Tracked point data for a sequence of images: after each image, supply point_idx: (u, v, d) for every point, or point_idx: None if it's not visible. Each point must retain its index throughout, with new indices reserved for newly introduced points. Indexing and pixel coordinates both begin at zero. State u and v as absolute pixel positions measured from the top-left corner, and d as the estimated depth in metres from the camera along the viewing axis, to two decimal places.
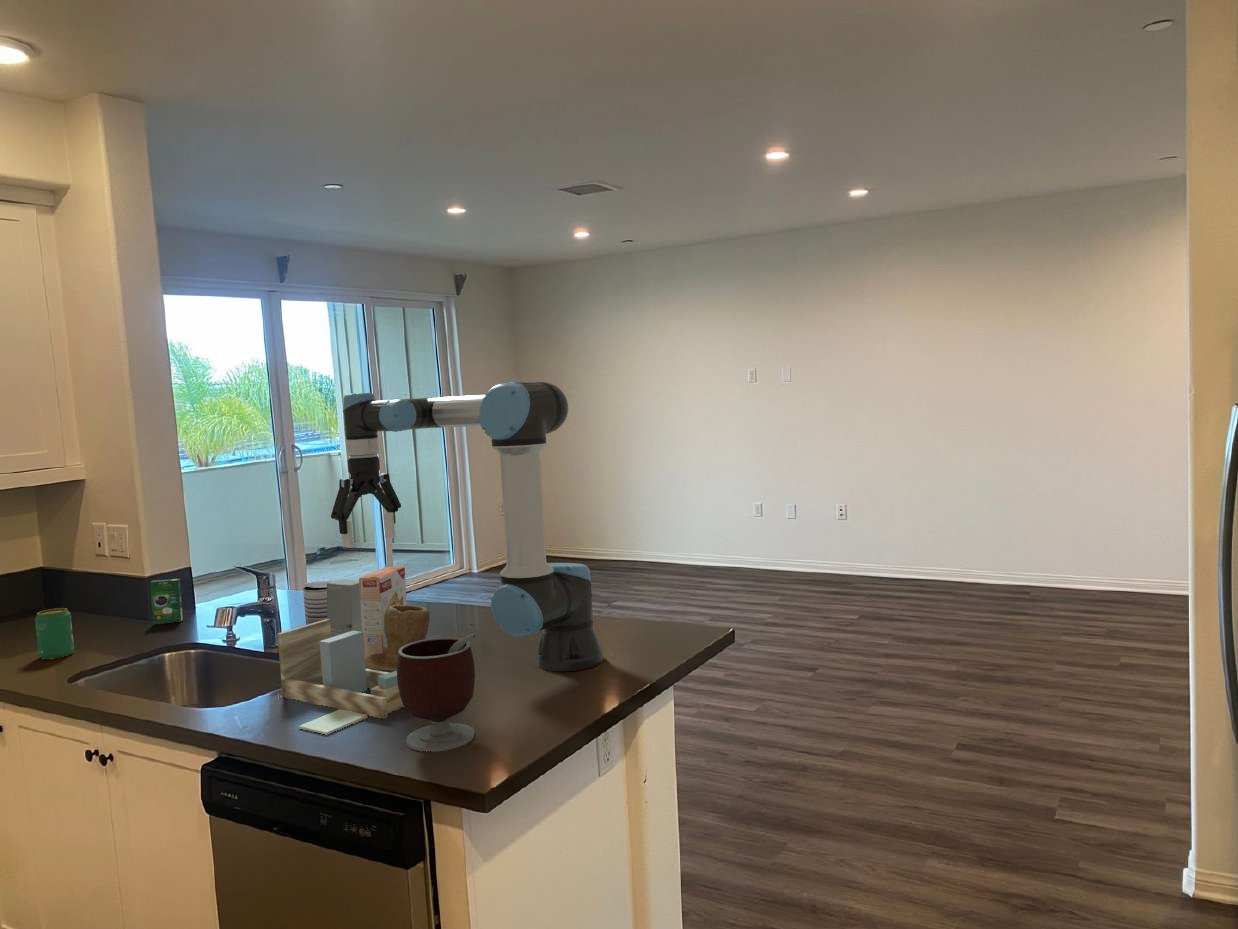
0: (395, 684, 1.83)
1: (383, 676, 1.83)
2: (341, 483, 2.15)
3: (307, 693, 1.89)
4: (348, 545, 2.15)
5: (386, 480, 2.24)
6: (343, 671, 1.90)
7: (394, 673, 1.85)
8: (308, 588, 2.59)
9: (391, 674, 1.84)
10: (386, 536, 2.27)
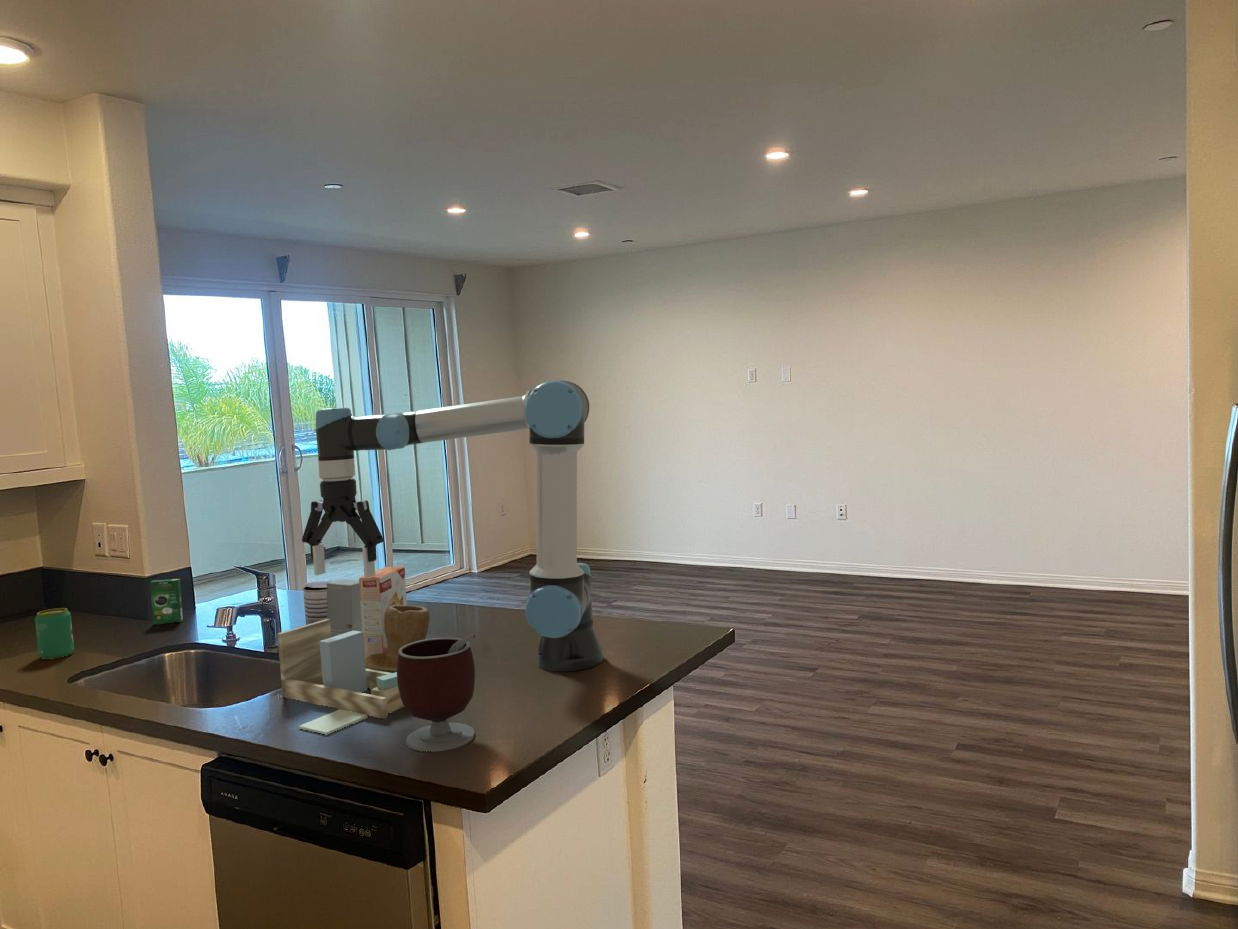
0: (393, 685, 1.82)
1: (381, 677, 1.83)
2: None
3: (307, 693, 1.89)
4: None
5: (358, 509, 1.93)
6: (343, 671, 1.90)
7: (393, 674, 1.84)
8: (308, 588, 2.59)
9: (390, 675, 1.84)
10: None
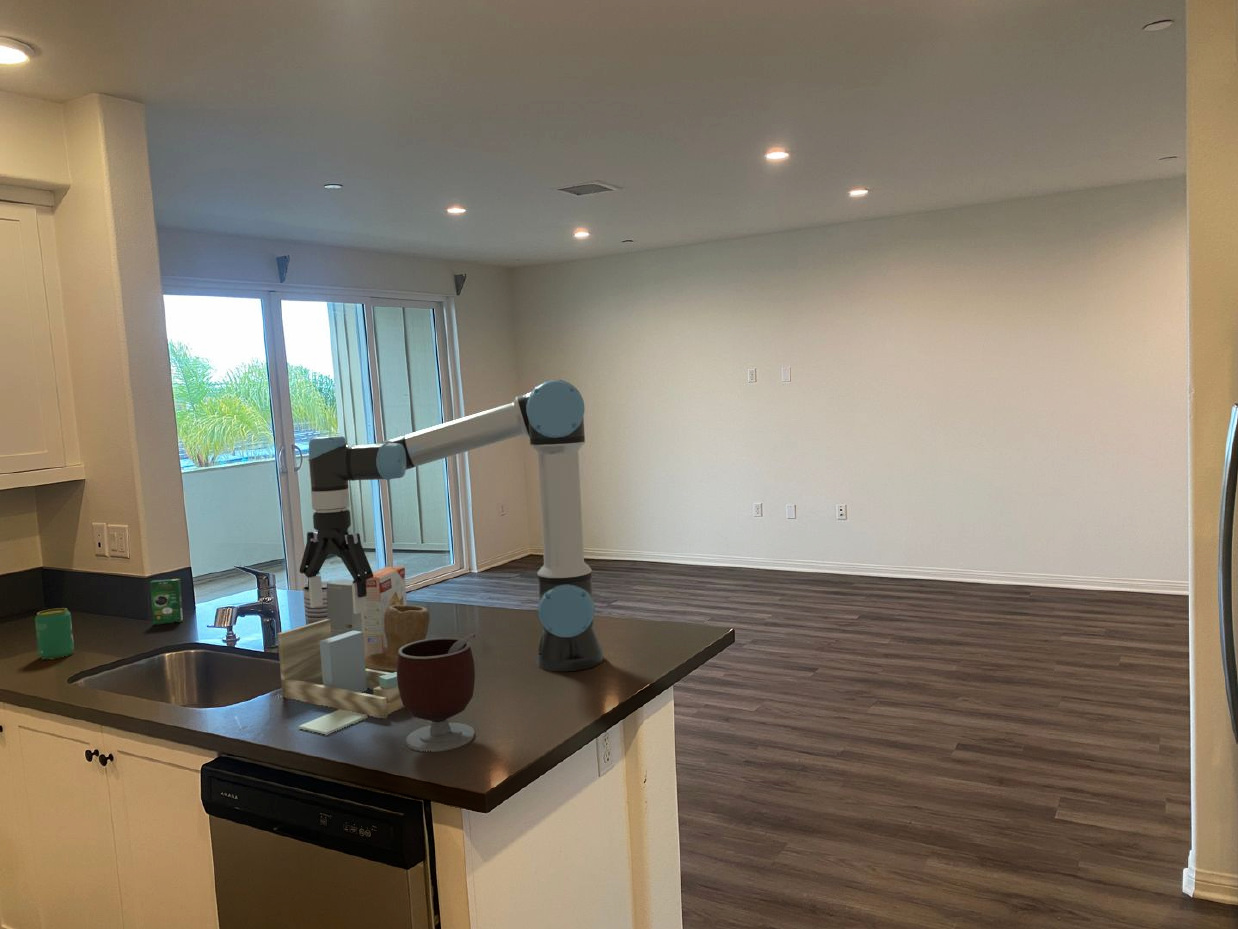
0: (396, 684, 1.82)
1: (384, 676, 1.82)
2: None
3: (307, 693, 1.89)
4: None
5: (347, 543, 1.85)
6: (343, 671, 1.90)
7: (395, 674, 1.84)
8: None
9: (392, 674, 1.83)
10: None
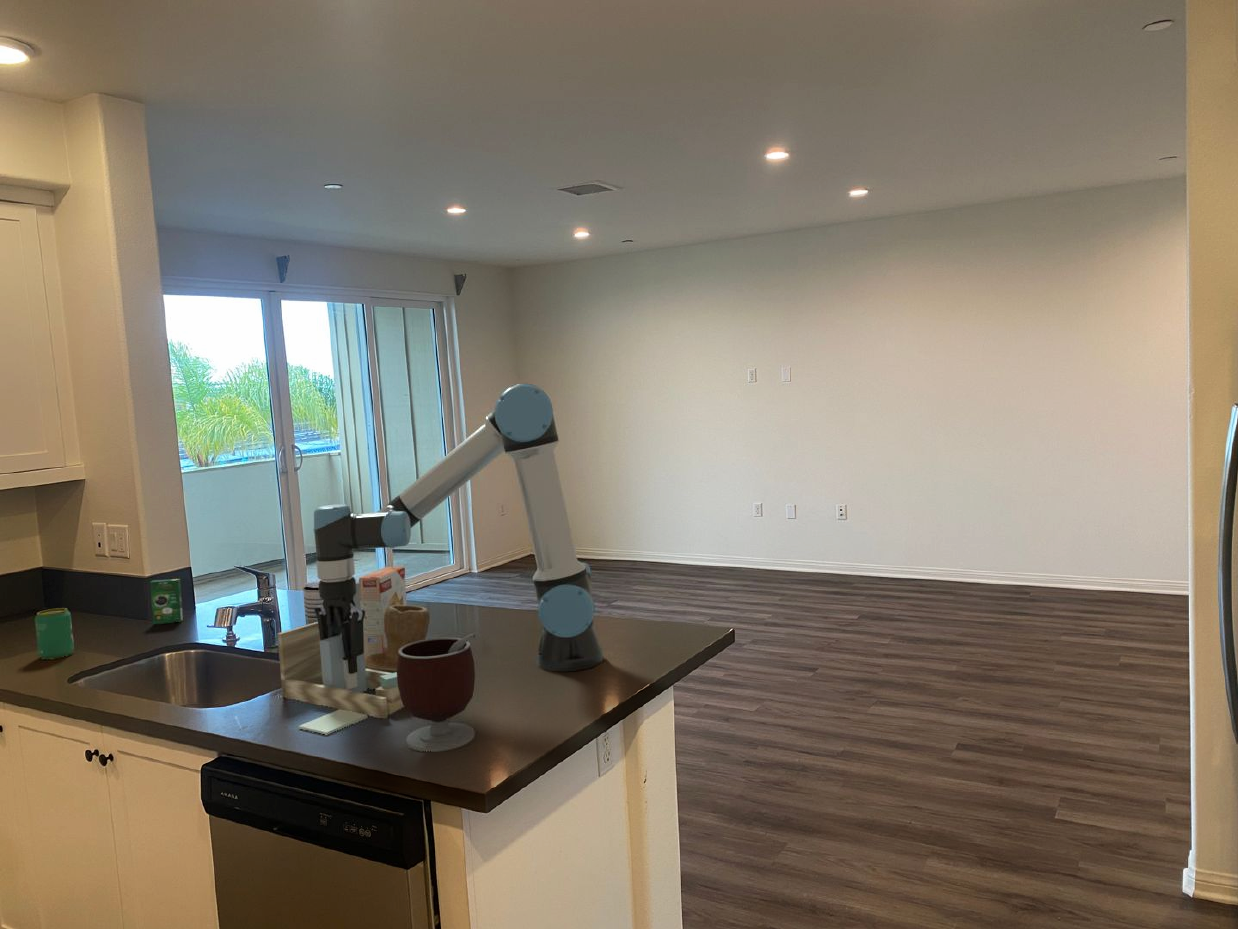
0: (397, 685, 1.83)
1: (385, 676, 1.83)
2: None
3: (307, 693, 1.89)
4: None
5: (351, 618, 1.87)
6: (343, 671, 1.90)
7: None
8: (308, 588, 2.59)
9: (393, 674, 1.84)
10: None
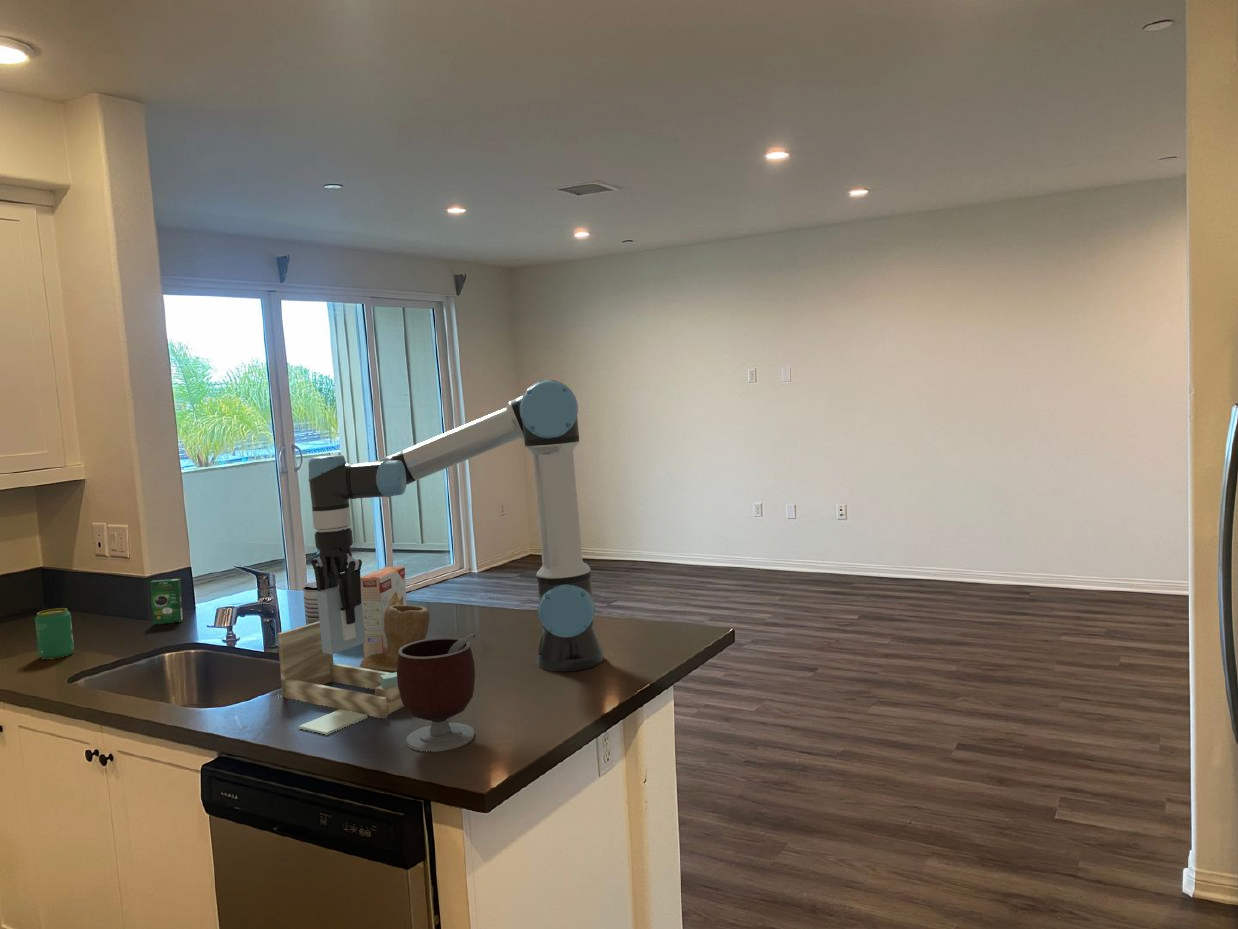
0: (395, 685, 1.82)
1: (384, 676, 1.83)
2: None
3: (307, 693, 1.89)
4: None
5: (348, 567, 1.86)
6: (340, 622, 1.89)
7: (396, 673, 1.84)
8: (308, 588, 2.59)
9: (393, 674, 1.84)
10: None
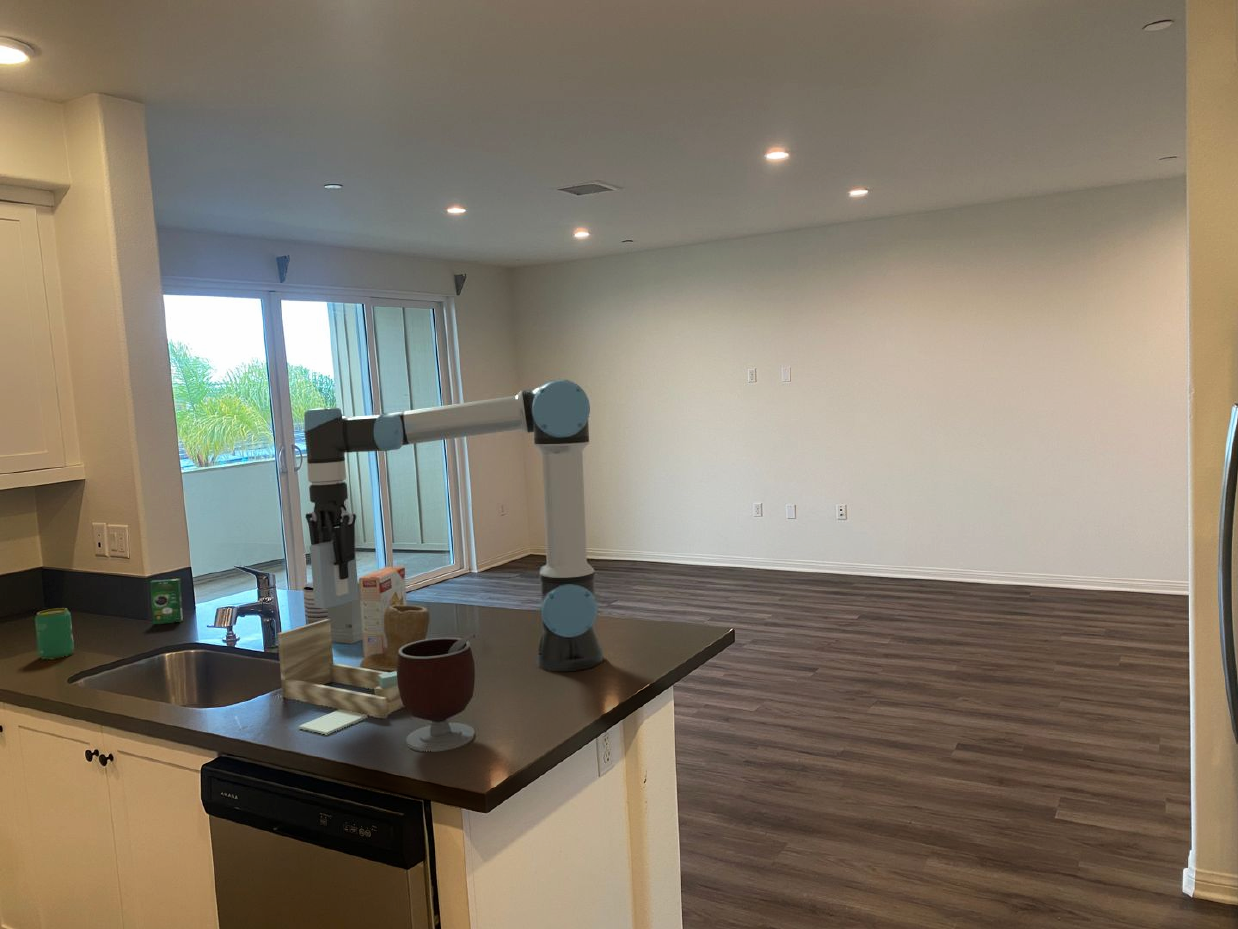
0: (393, 684, 1.83)
1: (382, 675, 1.84)
2: None
3: (307, 693, 1.89)
4: None
5: (342, 521, 1.84)
6: (333, 576, 1.86)
7: (395, 673, 1.85)
8: (308, 588, 2.59)
9: (391, 674, 1.84)
10: None
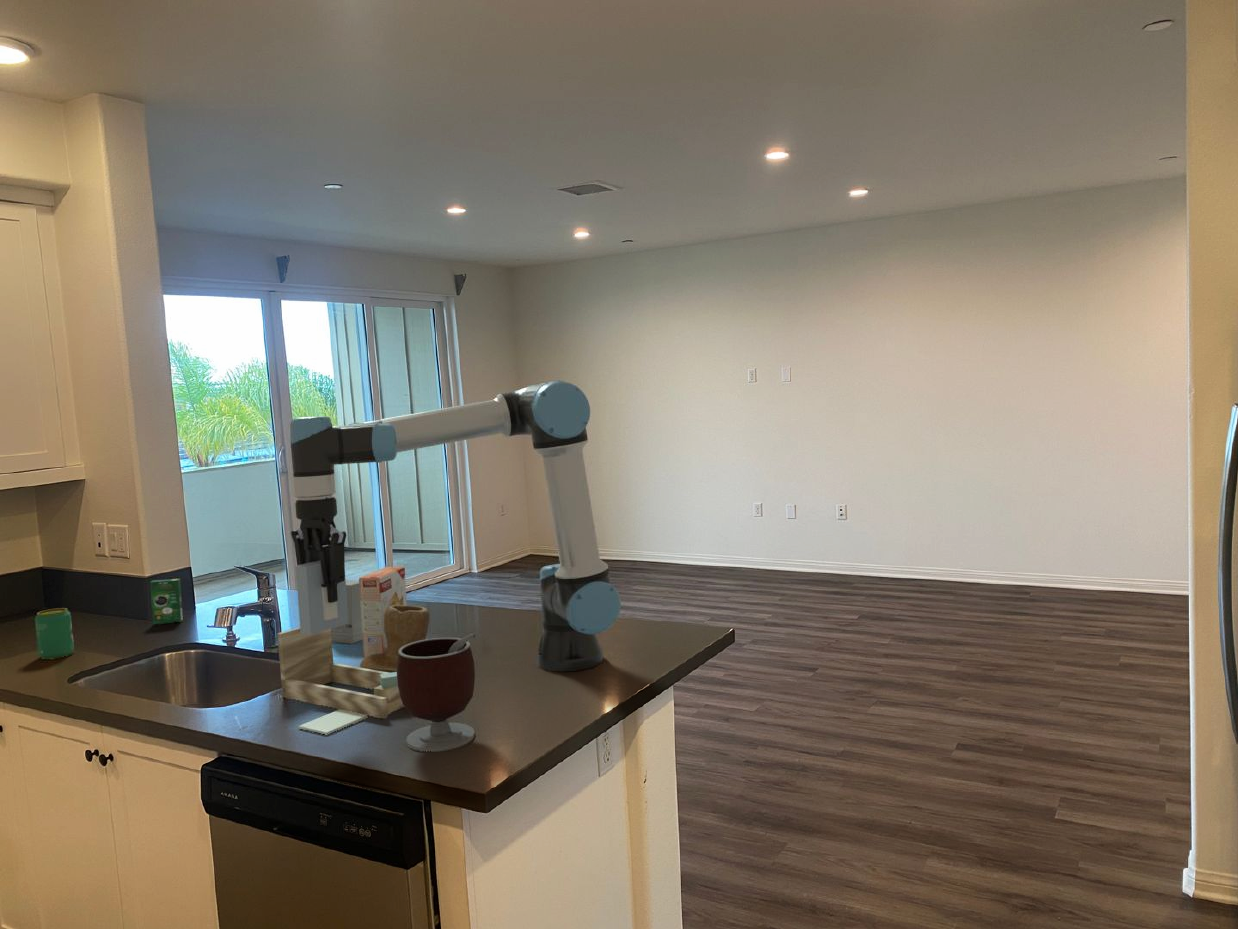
0: (393, 684, 1.83)
1: (383, 675, 1.84)
2: None
3: (307, 693, 1.89)
4: None
5: (331, 540, 1.69)
6: (321, 599, 1.72)
7: (396, 673, 1.85)
8: None
9: (392, 674, 1.84)
10: None
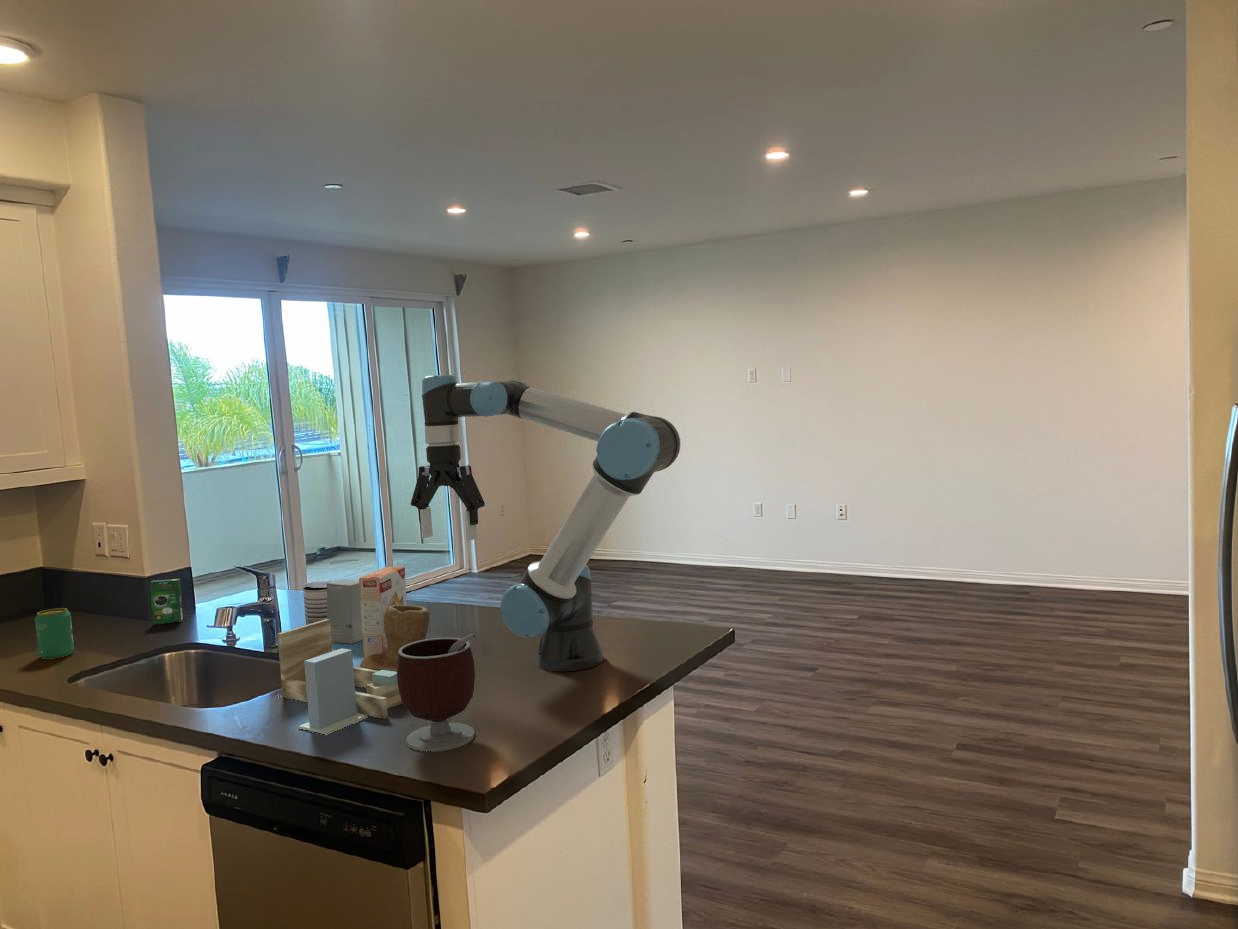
0: (380, 683, 1.84)
1: (380, 671, 1.86)
2: None
3: None
4: None
5: (460, 474, 1.98)
6: (330, 693, 1.73)
7: (389, 673, 1.85)
8: (308, 588, 2.59)
9: (386, 672, 1.85)
10: None
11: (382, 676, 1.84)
